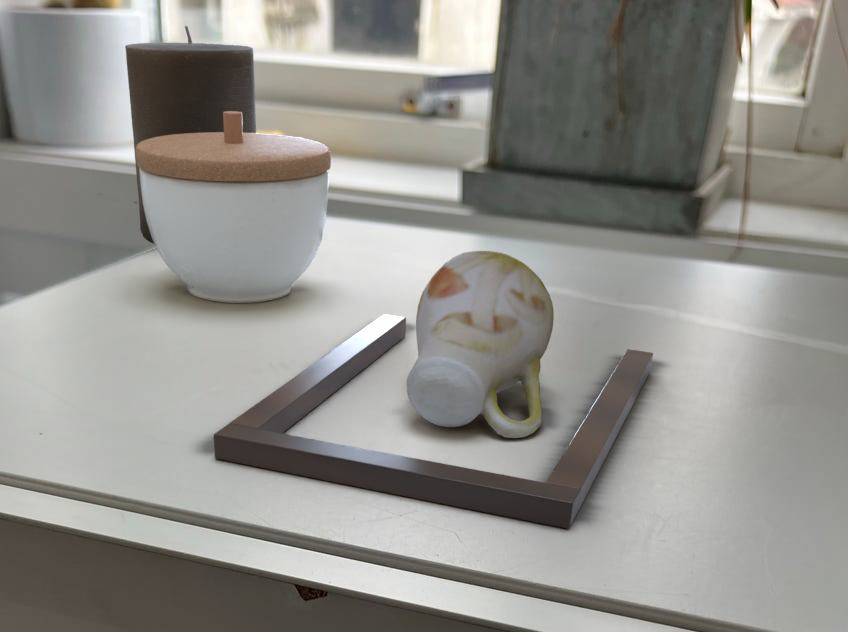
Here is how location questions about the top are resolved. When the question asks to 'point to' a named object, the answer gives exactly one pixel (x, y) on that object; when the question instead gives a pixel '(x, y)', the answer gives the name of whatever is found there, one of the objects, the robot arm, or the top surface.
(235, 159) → the lidded bowl
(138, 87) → the pillar candle
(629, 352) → the frame
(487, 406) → the mug
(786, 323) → the top surface
